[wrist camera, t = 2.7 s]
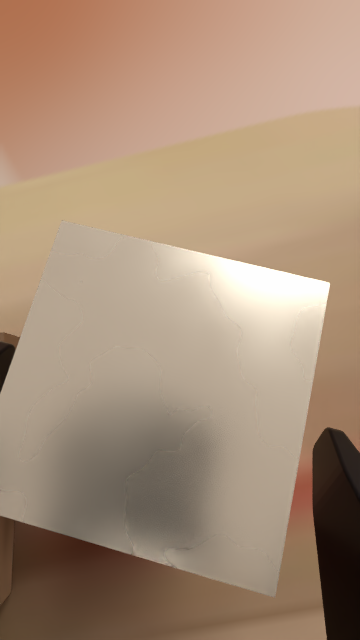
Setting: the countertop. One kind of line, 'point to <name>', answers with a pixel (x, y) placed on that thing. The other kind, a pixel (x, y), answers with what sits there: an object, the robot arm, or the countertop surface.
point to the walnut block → (6, 525)
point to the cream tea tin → (161, 404)
